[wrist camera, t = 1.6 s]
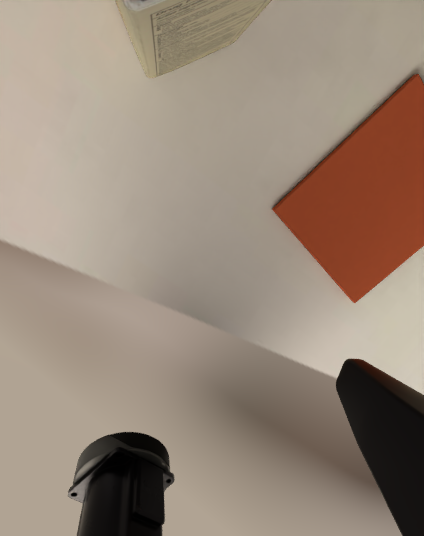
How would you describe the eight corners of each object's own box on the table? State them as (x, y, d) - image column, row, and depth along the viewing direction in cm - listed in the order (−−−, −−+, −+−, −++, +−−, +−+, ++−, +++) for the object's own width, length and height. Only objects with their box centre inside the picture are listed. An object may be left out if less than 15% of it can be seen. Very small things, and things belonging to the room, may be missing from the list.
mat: (351, 301, 24) (354, 303, 24) (271, 208, 20) (273, 210, 20) (475, 197, 23) (480, 198, 22) (413, 74, 19) (419, 73, 18)
